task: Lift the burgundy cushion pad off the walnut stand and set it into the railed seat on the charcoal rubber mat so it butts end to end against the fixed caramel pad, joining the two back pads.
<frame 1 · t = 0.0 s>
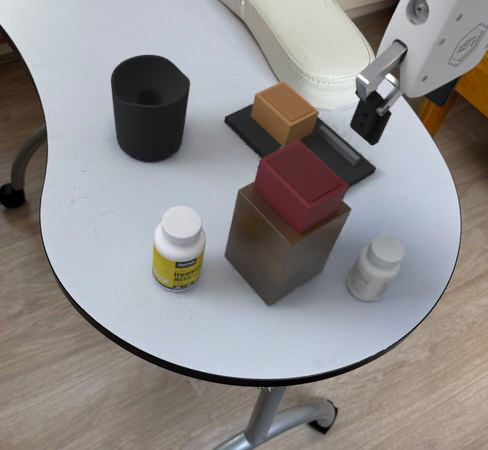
hand: (397, 116, 57), 18 cm above the table, tool pointing down, fingers open, 9 cm apart
lower pad: (294, 199, 58), point 12 cm above the table, touching pad stand
pad stand: (272, 264, 67), on the table
supplement bottle: (176, 273, 66), on the table
base mat: (297, 146, 79), on the table
pen holder: (149, 140, 78), on the table
upper pad: (280, 124, 79), resting on base mat
pill bottle: (364, 286, 67), on the table
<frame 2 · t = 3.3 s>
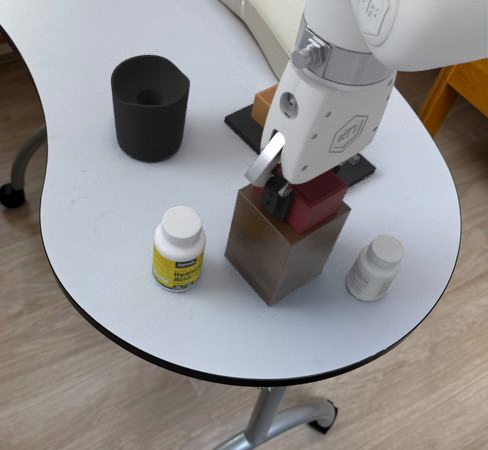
hand: (295, 196, 57), 12 cm above the table, tool pointing down, fingers closed on lower pad, 5 cm apart
lower pad: (294, 199, 58), point 12 cm above the table, touching gripper, pad stand
everything else where it was.
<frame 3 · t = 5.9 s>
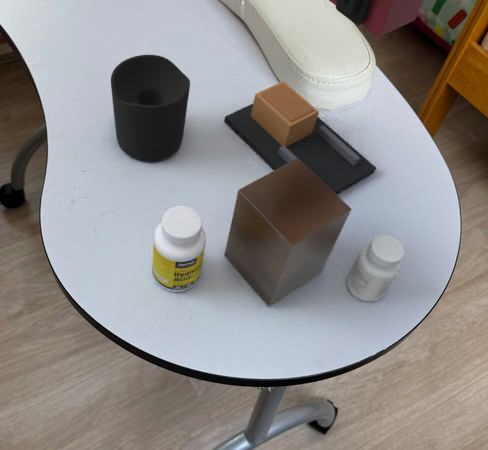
hand: (371, 5, 55), 25 cm above the table, tool pointing down, fingers closed on lower pad, 5 cm apart
lower pad: (369, 9, 55), point 25 cm above the table, touching gripper
everything else where it was.
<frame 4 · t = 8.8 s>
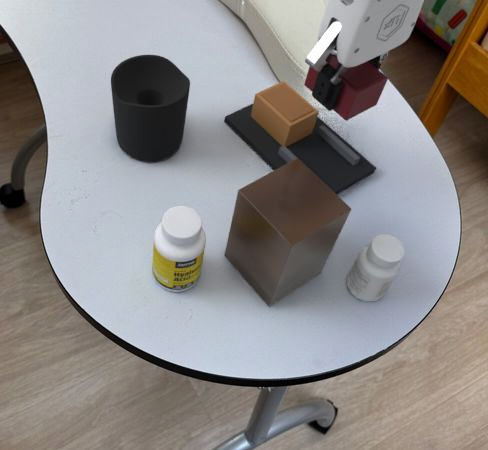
hand: (341, 92, 67), 12 cm above the table, tool pointing down, fingers closed on lower pad, 5 cm apart
lower pad: (339, 94, 68), point 12 cm above the table, touching gripper
everything else where it was.
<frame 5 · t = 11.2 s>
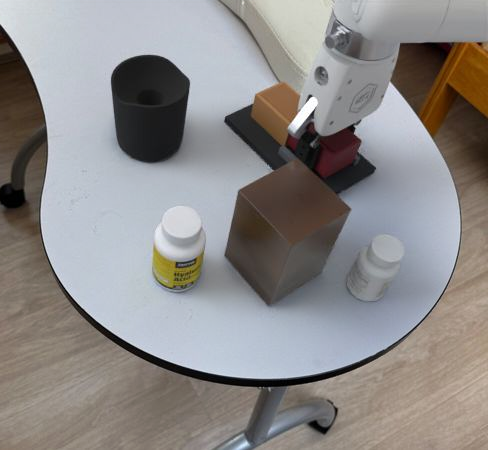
hand: (320, 151, 75), 3 cm above the table, tool pointing down, fingers closed on lower pad, 5 cm apart
lower pad: (319, 153, 75), point 2 cm above the table, touching gripper
everything else where it was.
when the fingers open (3 cm above the table, at t = 14.7 s): lower pad drops 1 cm, resting on base mat.
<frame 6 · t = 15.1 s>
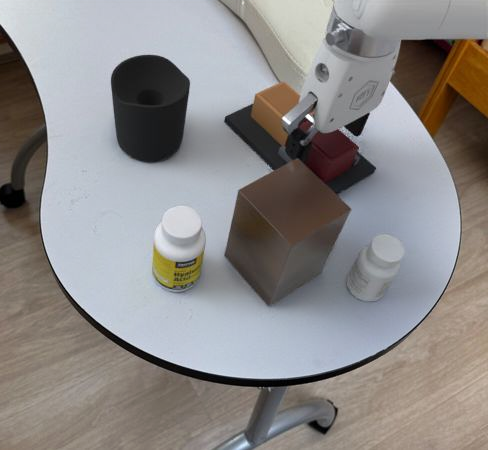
hand: (323, 143, 74), 4 cm above the table, tool pointing down, fingers open, 9 cm apart
lower pad: (317, 159, 76), point 1 cm above the table, touching base mat
everything else where it was.
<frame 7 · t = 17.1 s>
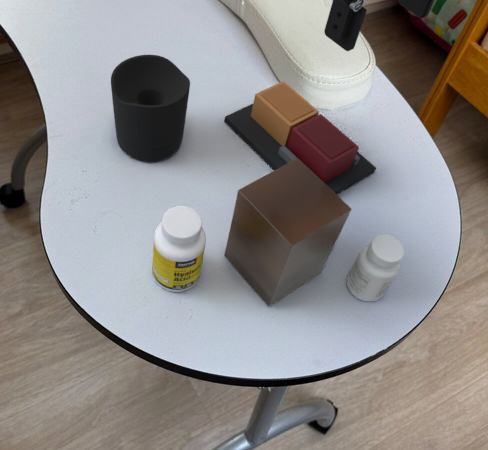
hand: (376, 25, 53), 25 cm above the table, tool pointing down, fingers open, 9 cm apart
nothing on the table moved.
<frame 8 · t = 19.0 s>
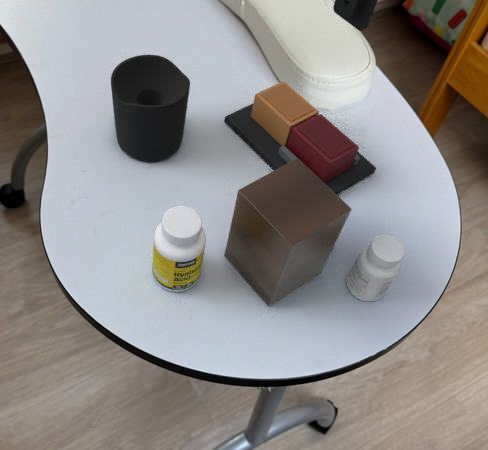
hand: (392, 1, 46), 30 cm above the table, tool pointing down, fingers open, 9 cm apart
nothing on the table moved.
at the end: lower pad 0.1 cm from the target spot on the base mat, point 1.0 cm above the base mat's base; lower pad 7.4 cm from the upper pad (horizontally); lower pad tilted 0° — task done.
